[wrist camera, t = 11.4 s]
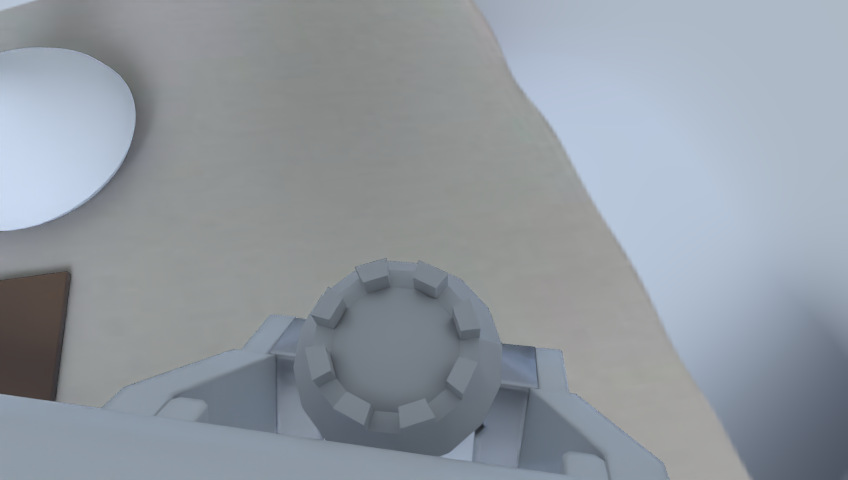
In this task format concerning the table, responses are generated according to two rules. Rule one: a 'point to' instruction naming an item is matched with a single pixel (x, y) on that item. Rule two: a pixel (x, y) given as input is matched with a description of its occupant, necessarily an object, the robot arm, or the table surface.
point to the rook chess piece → (399, 361)
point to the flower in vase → (58, 132)
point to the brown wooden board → (32, 334)
